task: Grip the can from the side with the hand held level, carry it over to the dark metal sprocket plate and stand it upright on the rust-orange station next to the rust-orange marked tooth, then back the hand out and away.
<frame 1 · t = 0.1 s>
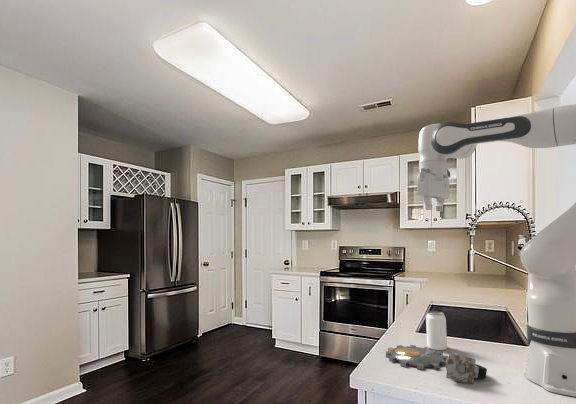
hand: (434, 210, 119), 48 cm above the worktop, tool pointing down, fingers open, 8 cm apart
sprocket plate: (416, 358, 111), on the worktop
caster wheel: (464, 378, 97), on the worktop
can: (437, 348, 122), on the worktop
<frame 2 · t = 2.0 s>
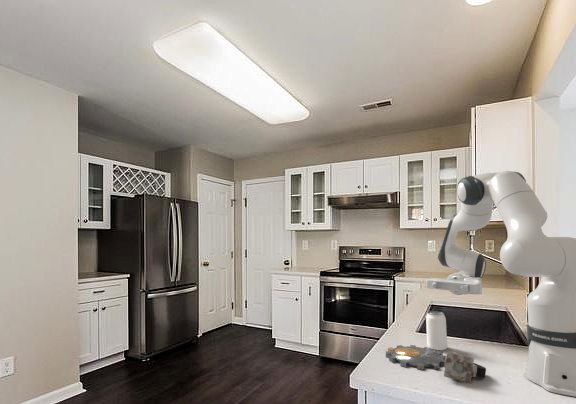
hand: (446, 287, 132), 19 cm above the worktop, tool horizontal, fingers open, 8 cm apart
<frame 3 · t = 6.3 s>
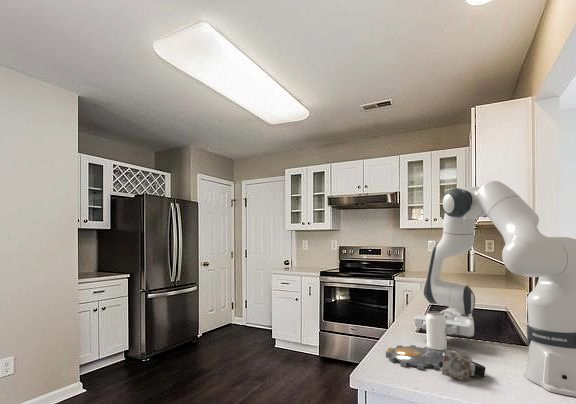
hand: (435, 329, 122), 7 cm above the worktop, tool horizontal, fingers closed on can, 6 cm apart
can: (437, 348, 122), on the worktop, touching gripper
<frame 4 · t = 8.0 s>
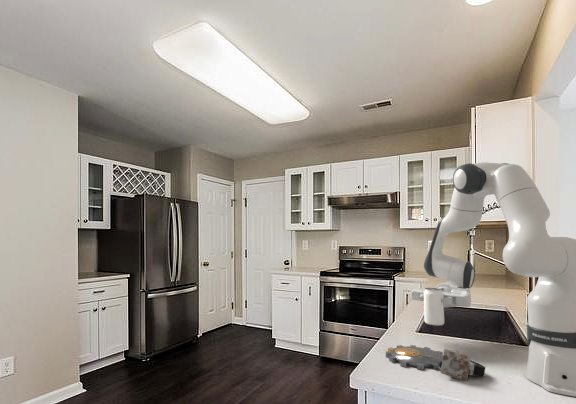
hand: (431, 300, 122), 17 cm above the worktop, tool horizontal, fingers closed on can, 6 cm apart
can: (434, 324, 122), point 8 cm above the worktop, touching gripper
when the fingers open (10 cm above the worktop, at t = 10.5 s): can stays where it is, resting on sprocket plate.
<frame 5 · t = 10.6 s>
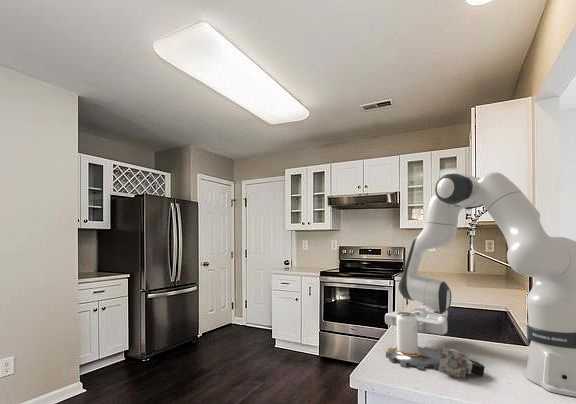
hand: (404, 326, 114), 10 cm above the worktop, tool horizontal, fingers open, 3 cm apart
can: (407, 352, 114), point 1 cm above the worktop, touching gripper, sprocket plate
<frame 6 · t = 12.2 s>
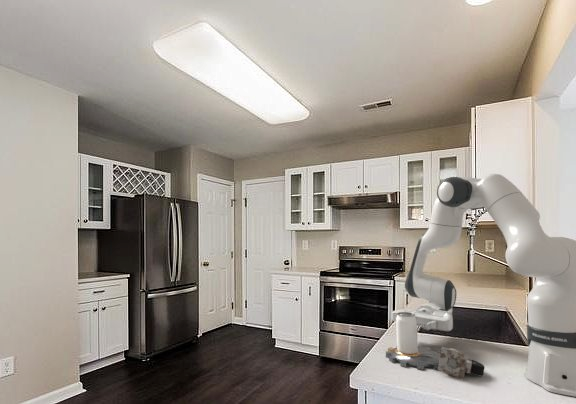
hand: (412, 323, 118), 10 cm above the worktop, tool horizontal, fingers open, 8 cm apart
can: (407, 351, 114), point 1 cm above the worktop, touching sprocket plate
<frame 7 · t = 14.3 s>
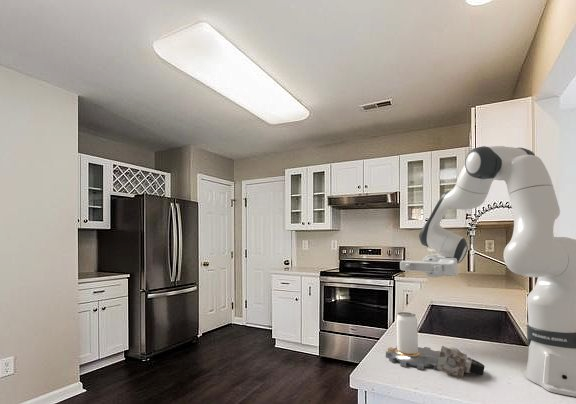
hand: (419, 268, 125), 28 cm above the worktop, tool horizontal, fingers open, 8 cm apart
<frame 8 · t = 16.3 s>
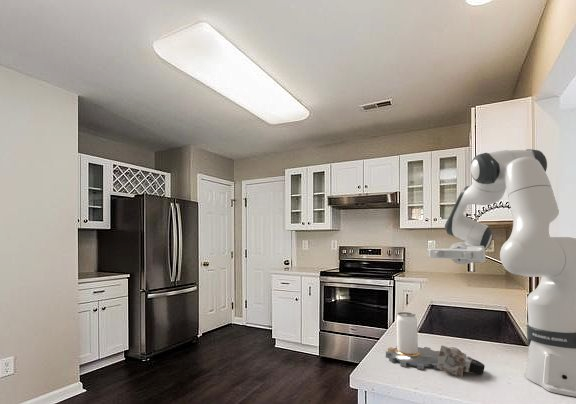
hand: (449, 254, 131), 32 cm above the worktop, tool horizontal, fingers open, 8 cm apart
at the end: can 0.2 cm from the target spot on the sprocket plate, point 1.2 cm above the sprocket plate's base; can tilted 1°; the gripper is holding nothing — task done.
